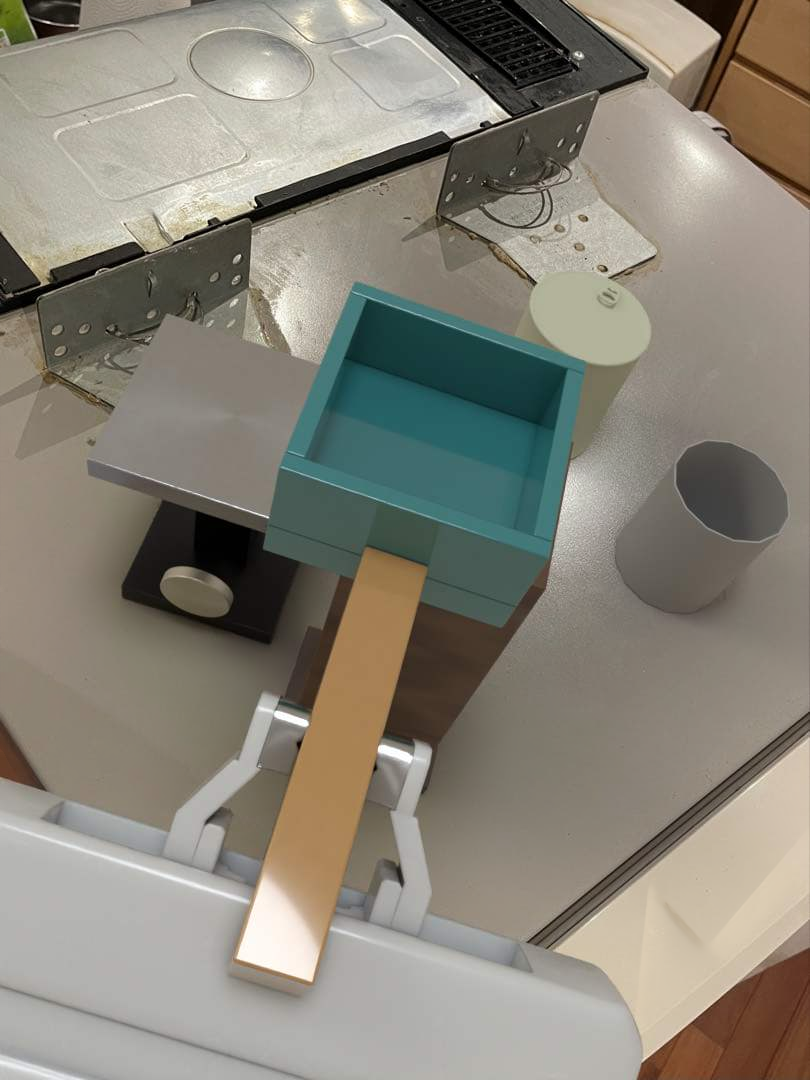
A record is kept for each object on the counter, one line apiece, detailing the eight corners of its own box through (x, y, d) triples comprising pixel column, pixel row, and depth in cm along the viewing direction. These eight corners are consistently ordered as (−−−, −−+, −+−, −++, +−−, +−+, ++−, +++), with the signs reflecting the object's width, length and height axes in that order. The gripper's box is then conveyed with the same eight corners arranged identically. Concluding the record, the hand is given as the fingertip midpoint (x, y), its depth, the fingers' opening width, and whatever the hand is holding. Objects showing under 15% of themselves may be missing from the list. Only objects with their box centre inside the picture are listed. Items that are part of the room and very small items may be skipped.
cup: (593, 550, 74) (649, 473, 65) (660, 499, 78) (720, 421, 69) (675, 633, 71) (744, 565, 63) (740, 577, 75) (812, 505, 67)
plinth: (268, 746, 61) (331, 518, 39) (306, 635, 65) (381, 376, 43) (422, 795, 61) (570, 597, 39) (449, 681, 66) (595, 448, 44)
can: (611, 414, 81) (675, 311, 71) (560, 483, 76) (622, 382, 66) (518, 354, 83) (568, 245, 73) (462, 418, 78) (508, 310, 68)
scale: (100, 605, 63) (86, 458, 50) (164, 474, 69) (166, 312, 56) (279, 663, 64) (313, 533, 50) (327, 528, 70) (368, 380, 56)
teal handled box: (108, 940, 24) (102, 901, 21) (332, 371, 36) (354, 279, 32) (415, 1033, 25) (463, 1012, 21) (541, 442, 36) (587, 360, 32)
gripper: (579, 1430, 23) (748, 865, 24) (-267, 1185, 22) (-57, 605, 23) (528, 1252, 30) (663, 808, 31) (-135, 1054, 29) (26, 601, 30)
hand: (346, 718), depth 27 cm, fingers closed on teal handled box, 2 cm apart
